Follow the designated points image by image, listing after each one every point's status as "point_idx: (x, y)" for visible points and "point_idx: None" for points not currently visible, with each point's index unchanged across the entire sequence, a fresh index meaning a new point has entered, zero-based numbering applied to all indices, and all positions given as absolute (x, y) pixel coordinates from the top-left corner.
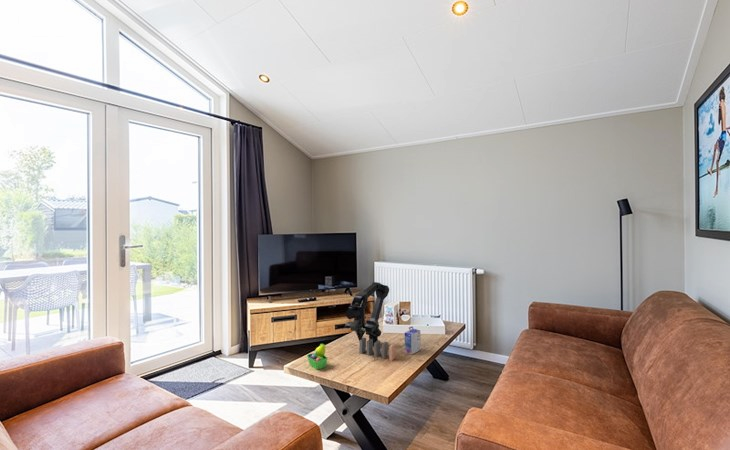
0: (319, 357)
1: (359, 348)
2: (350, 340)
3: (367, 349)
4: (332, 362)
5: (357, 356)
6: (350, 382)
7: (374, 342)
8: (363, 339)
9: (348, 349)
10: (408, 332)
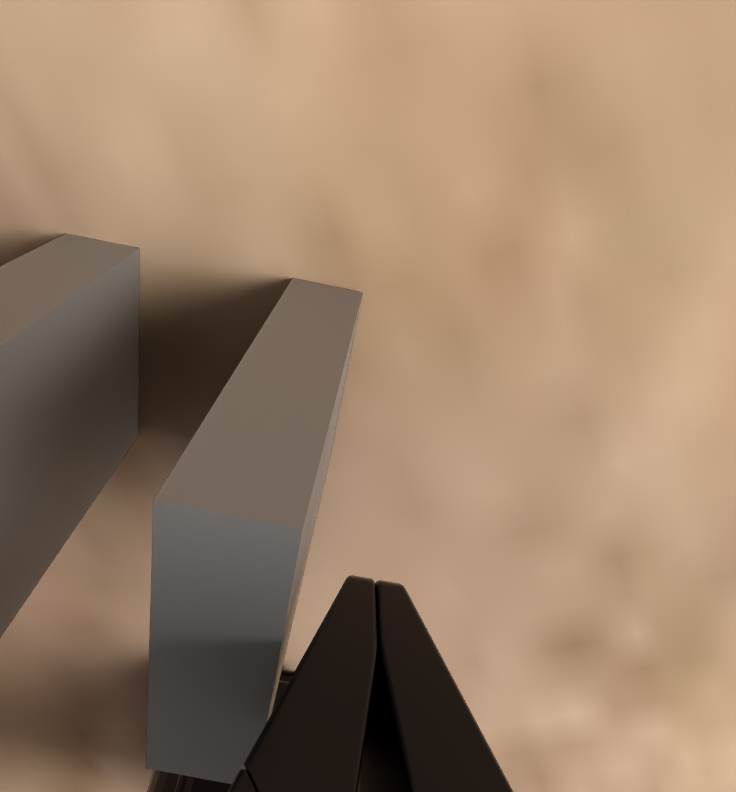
0: None
1: (350, 343)
2: (710, 775)
3: (28, 289)
4: None
5: (330, 46)
6: None
7: None
8: (164, 630)
9: (694, 430)
10: None
